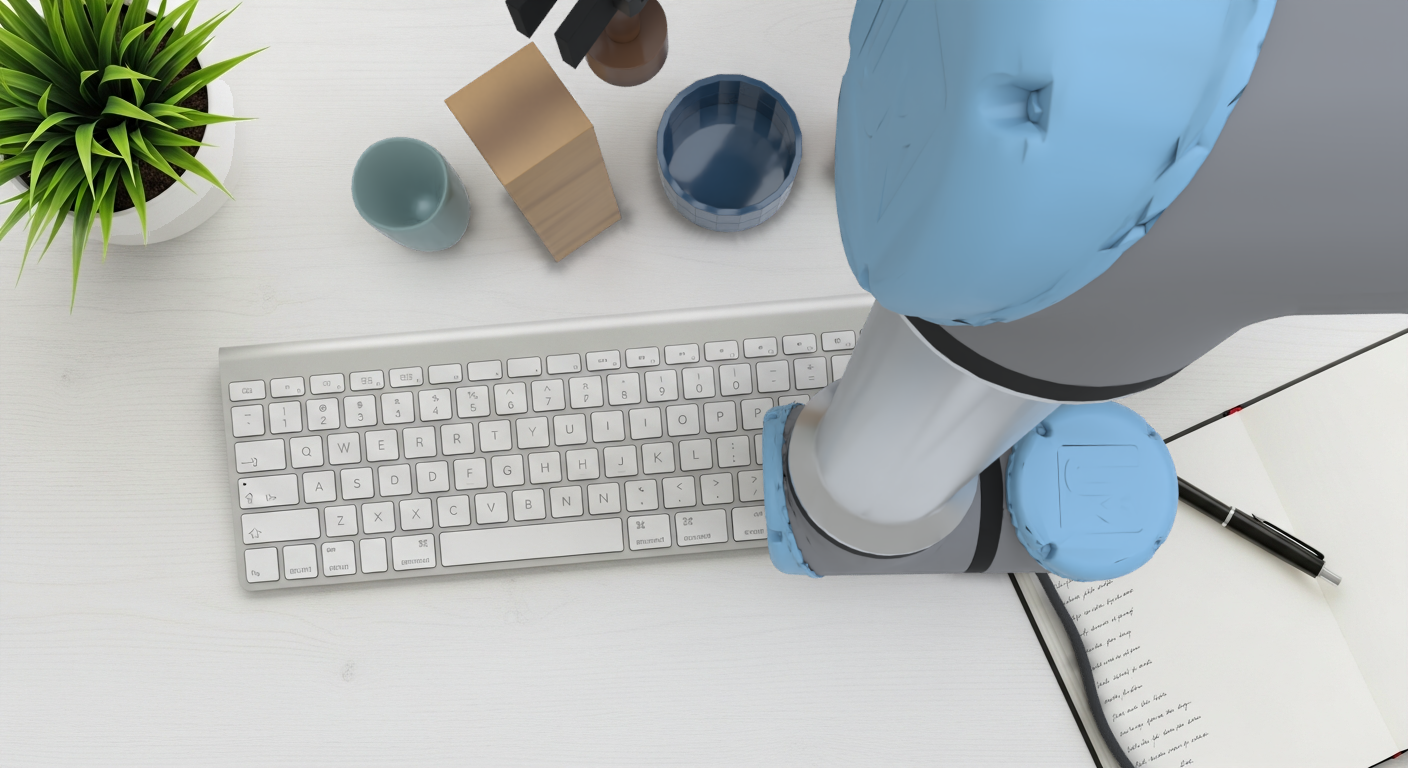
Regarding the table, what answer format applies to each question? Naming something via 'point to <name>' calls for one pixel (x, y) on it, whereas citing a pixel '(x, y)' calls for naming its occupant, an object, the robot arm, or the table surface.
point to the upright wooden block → (539, 149)
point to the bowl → (728, 152)
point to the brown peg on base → (631, 47)
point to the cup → (411, 194)
